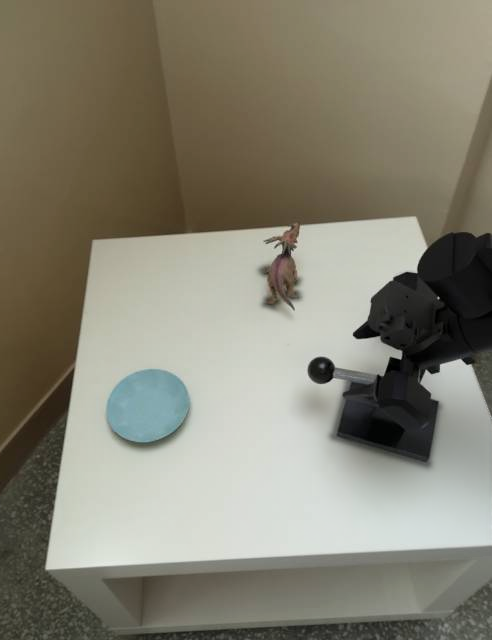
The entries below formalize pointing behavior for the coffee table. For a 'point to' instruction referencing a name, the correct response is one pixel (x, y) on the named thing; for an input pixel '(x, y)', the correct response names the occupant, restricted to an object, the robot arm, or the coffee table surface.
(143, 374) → the saucer
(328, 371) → the lever
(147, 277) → the coffee table surface
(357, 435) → the bracket
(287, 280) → the dinosaur figurine
